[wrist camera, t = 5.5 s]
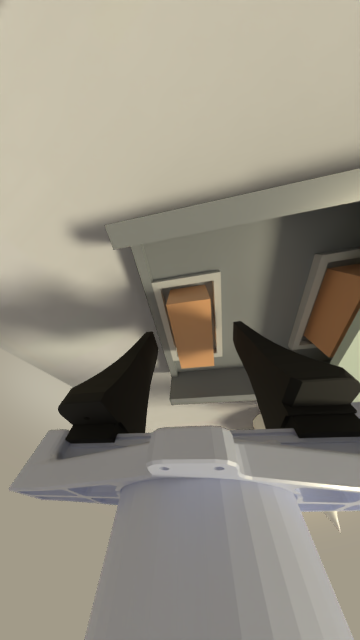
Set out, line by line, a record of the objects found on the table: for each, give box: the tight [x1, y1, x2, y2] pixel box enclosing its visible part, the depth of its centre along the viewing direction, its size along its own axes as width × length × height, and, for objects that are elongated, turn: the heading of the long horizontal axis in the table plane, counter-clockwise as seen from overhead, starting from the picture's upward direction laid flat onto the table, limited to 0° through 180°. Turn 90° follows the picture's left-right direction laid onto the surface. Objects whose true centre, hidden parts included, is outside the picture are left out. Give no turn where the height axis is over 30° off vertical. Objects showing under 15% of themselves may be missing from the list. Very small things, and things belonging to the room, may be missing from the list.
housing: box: [104, 168, 360, 405], centre depth 13 cm, size 18×21×5 cm
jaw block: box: [166, 285, 214, 369], centre depth 13 cm, size 7×3×3 cm, turn 10°
